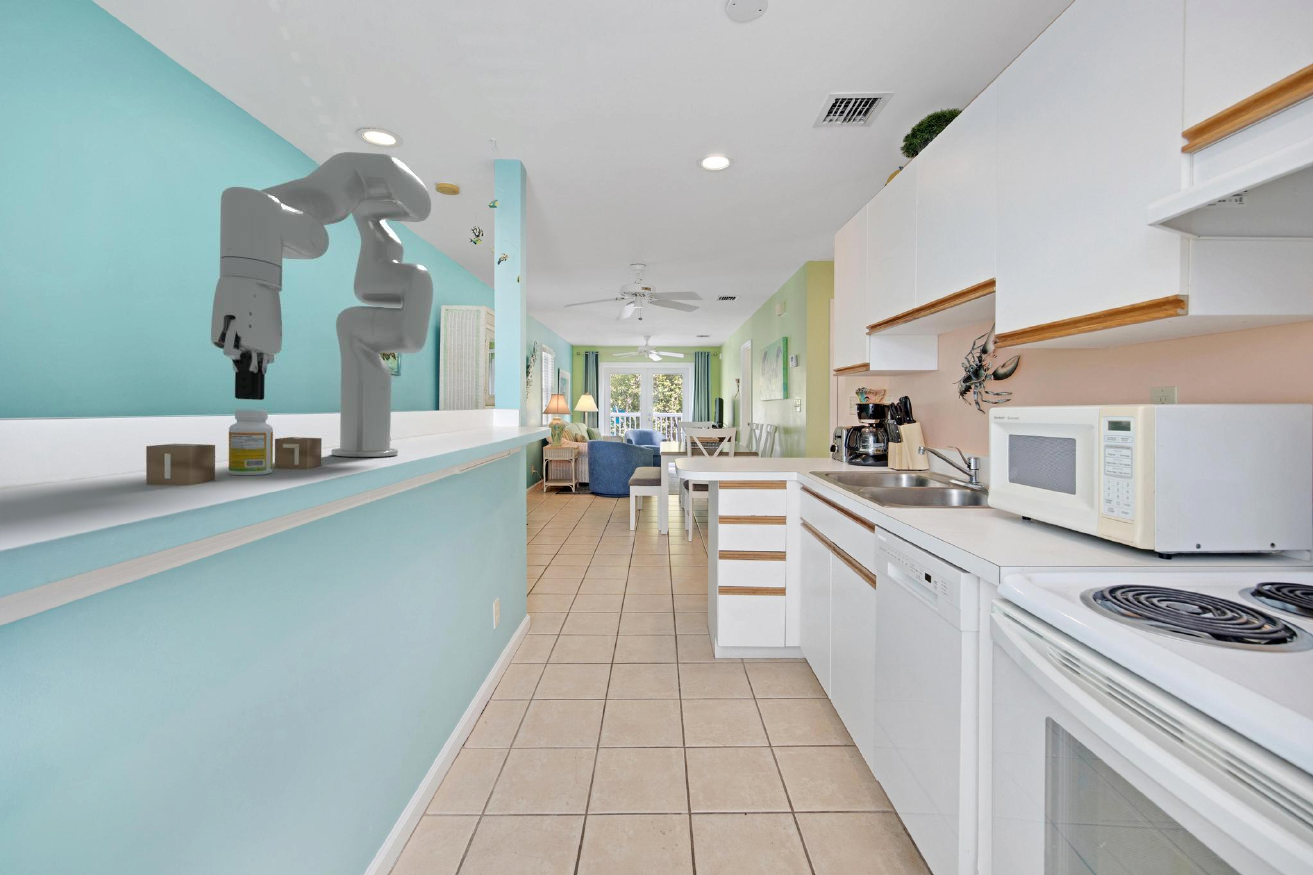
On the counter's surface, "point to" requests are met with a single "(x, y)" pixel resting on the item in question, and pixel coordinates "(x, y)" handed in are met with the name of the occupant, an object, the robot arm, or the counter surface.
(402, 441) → the counter surface
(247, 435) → the supplement bottle
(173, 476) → the walnut block
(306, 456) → the walnut block
